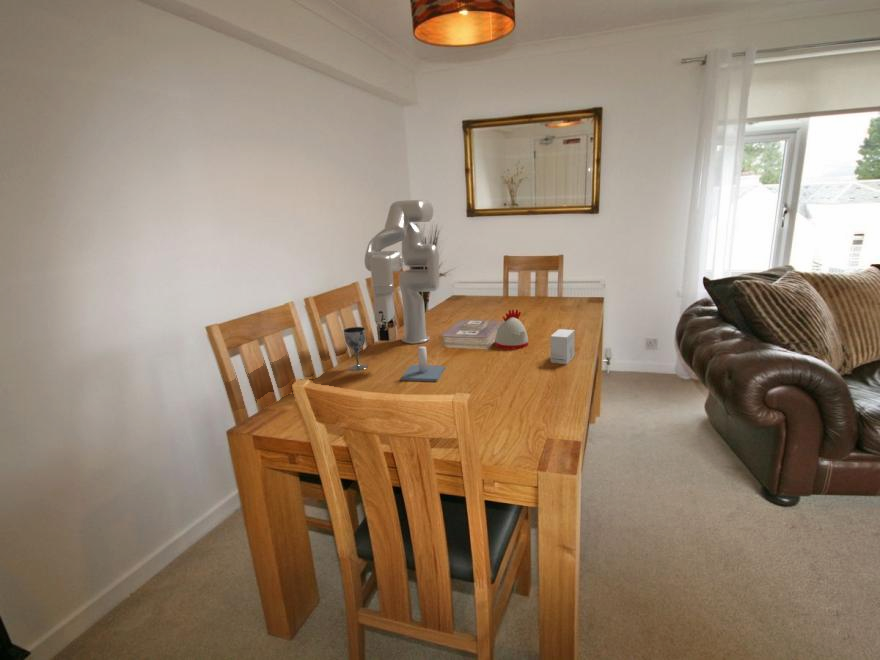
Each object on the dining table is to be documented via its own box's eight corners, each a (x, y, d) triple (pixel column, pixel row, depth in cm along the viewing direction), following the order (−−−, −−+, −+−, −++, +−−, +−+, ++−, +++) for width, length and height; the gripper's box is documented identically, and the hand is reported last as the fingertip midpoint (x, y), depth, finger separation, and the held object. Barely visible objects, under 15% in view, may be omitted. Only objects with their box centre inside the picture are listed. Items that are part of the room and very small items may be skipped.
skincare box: (558, 354, 181) (558, 328, 178) (574, 356, 177) (575, 329, 174) (549, 362, 172) (550, 335, 169) (566, 364, 169) (567, 337, 166)
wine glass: (348, 372, 172) (344, 333, 168) (346, 365, 179) (342, 328, 175) (369, 369, 174) (366, 330, 170) (367, 362, 181) (363, 325, 177)
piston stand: (410, 367, 174) (409, 342, 171) (444, 368, 171) (443, 342, 168) (401, 380, 161) (399, 353, 159) (437, 381, 159) (436, 353, 156)
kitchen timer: (534, 346, 192) (534, 310, 188) (505, 351, 187) (505, 315, 183) (517, 338, 204) (517, 304, 200) (489, 342, 200) (488, 308, 196)
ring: (382, 335, 175) (380, 323, 173) (400, 335, 173) (398, 323, 172) (376, 341, 168) (374, 328, 167) (394, 342, 167) (393, 328, 165)
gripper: (381, 284, 174) (385, 329, 179) (364, 295, 158) (370, 344, 163) (400, 284, 172) (404, 329, 178) (385, 295, 156) (390, 345, 162)
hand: (388, 336), depth 170 cm, fingers closed on ring, 7 cm apart
